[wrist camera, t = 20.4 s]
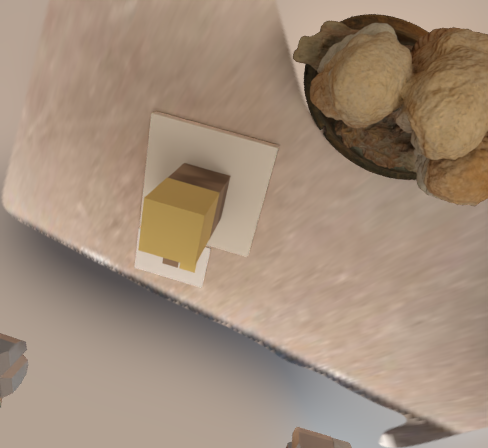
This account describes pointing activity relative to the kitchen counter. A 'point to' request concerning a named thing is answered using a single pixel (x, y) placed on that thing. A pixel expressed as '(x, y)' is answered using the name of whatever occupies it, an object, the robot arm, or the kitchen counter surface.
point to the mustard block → (177, 221)
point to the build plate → (219, 160)
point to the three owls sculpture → (403, 101)
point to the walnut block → (205, 184)
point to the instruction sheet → (173, 266)
